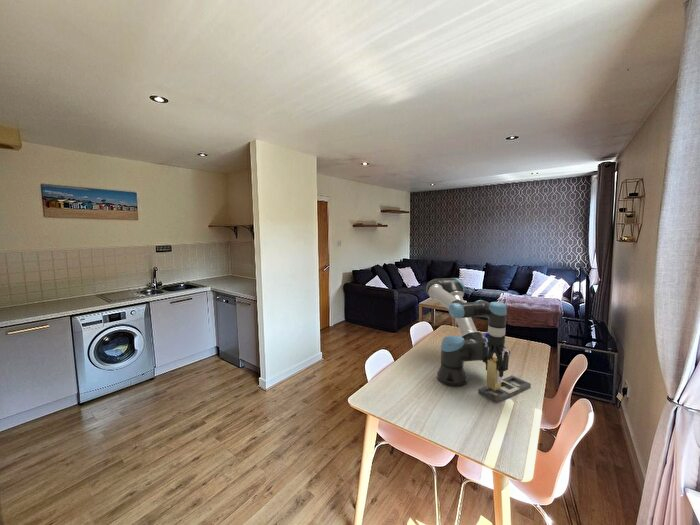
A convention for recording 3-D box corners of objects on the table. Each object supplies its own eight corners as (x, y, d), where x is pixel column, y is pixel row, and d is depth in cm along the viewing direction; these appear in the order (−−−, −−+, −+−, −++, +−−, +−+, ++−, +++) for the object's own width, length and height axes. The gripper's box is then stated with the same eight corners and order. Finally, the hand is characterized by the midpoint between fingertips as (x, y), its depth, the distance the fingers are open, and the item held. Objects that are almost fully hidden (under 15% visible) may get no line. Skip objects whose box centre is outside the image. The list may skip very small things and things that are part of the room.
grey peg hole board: (496, 403, 137) (496, 399, 137) (478, 393, 146) (478, 389, 146) (530, 387, 151) (530, 383, 151) (511, 378, 160) (512, 374, 159)
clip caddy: (494, 349, 198) (494, 342, 198) (474, 340, 215) (475, 333, 215) (505, 347, 201) (505, 340, 201) (485, 338, 218) (485, 331, 218)
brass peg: (494, 390, 141) (496, 361, 139) (486, 386, 145) (487, 358, 143) (500, 388, 143) (502, 359, 141) (492, 383, 147) (493, 356, 145)
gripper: (519, 338, 135) (516, 386, 138) (485, 327, 150) (483, 370, 153) (509, 342, 131) (506, 390, 134) (475, 330, 147) (473, 373, 149)
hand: (493, 379), depth 144 cm, fingers closed on brass peg, 5 cm apart
